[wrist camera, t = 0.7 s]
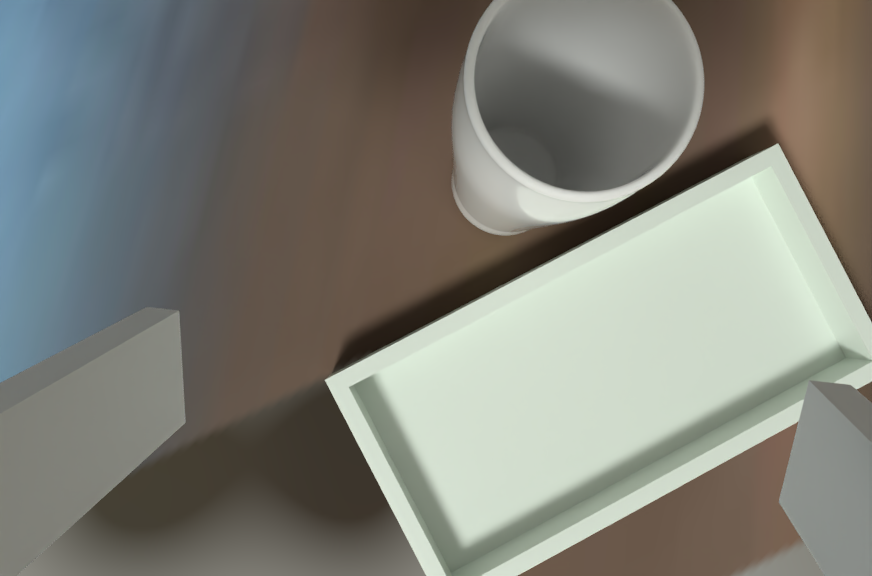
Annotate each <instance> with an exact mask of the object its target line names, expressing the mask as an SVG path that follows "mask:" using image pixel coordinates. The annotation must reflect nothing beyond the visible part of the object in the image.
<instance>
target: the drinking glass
mask: <svg viewBox="0 0 872 576" xmlns="http://www.w3.org/2000/svg"><path fill="white" fill-rule="evenodd" d="M703 97H704V69H703V63H702V57H701V53H700V50H699V46H698V43H697V41H696V38H695V35H694V33H693V31H692V29H691V27H690V25H689V23H688V22H687V20H686V18H685V17H684V15H683V14H682V12H681V11H680V10H679V8H678V7H677V6H676V5H675V3H674V2H673V1H672V0H493V1H492V2H491V4H490V5H489V6H488V8H487V9H486V10H485V12H484V13H483V15H482V16H481V18H480V20H479V21H478V23H477V25H476V27H475V29H474V31H473V34H472V36H471V39H470V42H469V45H468V48H467V51H466V53H465V56H464V59H463V62H462V65H461V68H460V72H459V75H458V79H457V83H456V88H455V93H454V99H453V106H452V119H451V134H452V151H453V171H452V180H451V181H452V191H453V196H454V199H455V202H456V204H457V206H458V208H459V209H460V211H461V212H462V214H463V215H464V216H465V217H466V219H467V220H468V221H470V222H471V223H472V224H473V225H474V226H476V227H478V228H479V229H481V230H483V231H485V232H488V233H491V234H495V235H505V236H506V235H516V234H520V233H523V232H526V231H528V230H531V229H534V228H539V227H545V226H551V225H557V224H563V223H568V222H572V221H576V220H579V219H583V218H586V217H588V216H591V215H594V214H597V213H599V212H601V211H603V210H606V209H608V208H610V207H612V206H614V205H616V204H618V203H620V202H621V201H623V200H625V199H626V198H628V197H630V196H631V195H633V194H635V193H636V192H638V191H639V190H641V189H642V188H644V187H645V186H647V185H649V184H650V183H652V182H653V181H655V180H656V179H657V178H659V177H660V176H661V175H662V174H663V173H664V172H666V171H667V170H668V169H669V168H670V167H671V166H672V165H673V164H674V162H675V161H676V160H677V159H678V158H679V156H680V155H681V154H682V152H683V151H684V150H685V148H686V146H687V145H688V143H689V141H690V139H691V137H692V135H693V133H694V131H695V129H696V126H697V123H698V120H699V117H700V113H701V109H702V104H703Z"/></svg>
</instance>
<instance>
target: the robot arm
mask: <svg viewBox="0 0 872 576" xmlns="http://www.w3.org/2000/svg"><path fill="white" fill-rule="evenodd" d="M184 423H185V407H184V390H183V372H182V355H181V337H180V320H179V311H178V310H168V309H159V308H150V307H146V308H144V309H142V310H140V311H138V312H136V313H134V314H132V315H131V316H129V317H127V318H125V319H123V320H121V321H119V322H117V323H115V324H113V325H111V326H109V327H107V328H105V329H104V330H102V331H100V332H98V333H96V334H94V335H92V336H90V337H88V338H86V339H84V340H82V341H80V342H78V343H77V344H75V345H73V346H71V347H69V348H67V349H65V350H63V351H61V352H59V353H57V354H55V355H53V356H52V357H50V358H48V359H46V360H44V361H42V362H40V363H38V364H36V365H34V366H32V367H30V368H28V369H26V370H25V371H23V372H21V373H19V374H17V375H15V376H13V377H11V378H9V379H7V380H5V381H3V382H1V383H0V576H17V575H18V574H19V573H20V572H21V571H23V570H24V569H25V568H26V567H27V566H28V565H29V564H30V563H31V562H32V561H33V560H34V559H36V558H37V557H38V556H39V555H40V554H41V553H42V552H43V551H44V550H46V549H47V548H48V547H49V546H50V545H51V544H52V543H53V542H54V541H56V539H58V538H59V537H60V536H61V535H62V534H63V533H64V532H65V531H67V530H68V529H69V528H70V527H71V526H72V525H73V524H74V523H75V522H76V521H78V520H79V519H80V518H81V517H82V516H83V515H84V514H85V513H86V512H88V511H89V510H90V509H91V508H92V507H93V506H94V505H95V504H96V503H97V502H98V501H100V500H101V499H102V498H103V497H104V496H105V495H106V494H107V493H108V492H110V491H111V490H112V489H113V488H114V487H115V486H116V485H117V484H118V483H119V482H121V481H122V480H123V479H124V478H125V477H126V476H127V475H128V474H129V473H130V472H132V471H133V470H134V469H135V468H136V467H137V466H138V465H139V464H140V463H141V462H143V461H144V460H145V459H146V458H147V457H148V456H149V455H150V454H151V453H153V452H154V451H155V450H156V449H157V448H158V447H159V446H160V445H161V444H162V443H164V442H165V441H166V440H167V439H168V438H169V437H170V436H171V435H172V434H173V433H175V432H176V431H177V430H178V429H179V428H180V427H181V426H182V425H183V424H184ZM779 503H780V505H781V506H782V508H783V509H784V511H785V513H786V514H787V516H788V518H789V519H790V521H791V522H792V524H793V526H794V527H795V529H796V531H797V532H798V534H799V535H800V537H801V539H802V540H803V542H804V543H805V545H806V547H807V548H808V550H809V551H810V553H811V555H812V556H813V558H814V560H815V561H816V563H817V564H818V566H819V568H820V569H821V571H822V572H823V574H824V576H872V403H871V402H870V401H869V400H867V399H866V398H865V397H864V396H863V395H862V394H861V393H860V392H858V391H857V390H856V389H855V388H854V387H853V386H852V385H848V384H839V383H830V382H821V381H812V380H809V382H808V386H807V390H806V394H805V398H804V402H803V406H802V410H801V414H800V418H799V422H798V426H797V430H796V434H795V438H794V442H793V447H792V451H791V455H790V459H789V463H788V467H787V471H786V475H785V479H784V483H783V487H782V491H781V495H780V499H779Z"/></svg>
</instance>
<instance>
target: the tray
mask: <svg viewBox="0 0 872 576" xmlns="http://www.w3.org/2000/svg"><path fill="white" fill-rule="evenodd" d="M809 380H812V381H821V382H830V383H839V384H848V385H852V386H853V387H854V388H855V389H858V388H860V387H862V386H864V385H866V384H867V383H869V382H871V381H872V322H871V320H870V318H869V317H868V315H867V313H866V311H865V309H864V307H863V305H862V303H861V301H860V299H859V297H858V295H857V293H856V292H855V290H854V288H853V286H852V284H851V282H850V280H849V278H848V276H847V274H846V272H845V270H844V269H843V267H842V265H841V263H840V261H839V259H838V257H837V255H836V253H835V251H834V249H833V247H832V246H831V244H830V242H829V240H828V238H827V236H826V234H825V232H824V230H823V228H822V226H821V224H820V223H819V221H818V219H817V217H816V215H815V213H814V211H813V209H812V207H811V205H810V203H809V201H808V200H807V198H806V196H805V194H804V192H803V190H802V188H801V186H800V184H799V182H798V180H797V178H796V176H795V175H794V173H793V171H792V169H791V167H790V165H789V163H788V161H787V159H786V157H785V155H784V153H783V152H782V150H781V148H780V146H779V144H776V145H773V146H771V147H769V148H766V149H764V150H762V151H760V152H757V153H755V154H753V155H750V156H748V157H746V158H745V159H743V160H741V161H739V162H737V163H735V164H733V165H731V166H729V167H727V168H725V169H723V170H722V171H720V172H718V173H716V174H714V175H712V176H710V177H708V178H706V179H704V180H702V181H700V182H699V183H697V184H695V185H693V186H691V187H689V188H687V189H685V190H683V191H681V192H679V193H677V194H676V195H674V196H672V197H670V198H668V199H666V200H664V201H662V202H660V203H658V204H656V205H654V206H653V207H651V208H649V209H647V210H645V211H643V212H641V213H639V214H637V215H635V216H633V217H631V218H630V219H628V220H626V221H624V222H622V223H620V224H618V225H616V226H614V227H612V228H610V229H608V230H606V231H605V232H603V233H601V234H599V235H597V236H595V237H593V238H591V239H589V240H587V241H585V242H583V243H582V244H580V245H578V246H576V247H574V248H572V249H570V250H568V251H566V252H564V253H562V254H560V255H559V256H557V257H555V258H553V259H551V260H549V261H547V262H545V263H543V264H541V265H539V266H537V267H536V268H534V269H532V270H530V271H528V272H526V273H524V274H522V275H520V276H518V277H516V278H514V279H513V280H511V281H509V282H507V283H505V284H503V285H501V286H499V287H497V288H495V289H493V290H491V291H490V292H488V293H486V294H484V295H482V296H480V297H478V298H476V299H474V300H472V301H470V302H468V303H467V304H465V305H463V306H461V307H459V308H457V309H455V310H453V311H451V312H449V313H447V314H445V315H444V316H442V317H440V318H438V319H436V320H434V321H432V322H430V323H428V324H426V325H424V326H422V327H421V328H419V329H417V330H415V331H413V332H411V333H409V334H407V335H405V336H403V337H401V338H399V339H398V340H396V341H394V342H392V343H390V344H388V345H386V346H384V347H382V348H380V349H378V350H376V351H375V352H373V353H371V354H369V355H367V356H365V357H363V358H361V359H359V360H357V361H355V362H353V363H352V364H350V365H348V366H346V367H344V368H342V369H340V370H338V371H336V372H334V373H332V374H331V375H330V376H329V377H328V378H326V379H325V381H326V383H327V385H328V387H329V389H330V391H331V393H332V395H333V397H334V398H335V400H336V402H337V404H338V406H339V408H340V410H341V412H342V414H343V416H344V418H345V420H346V422H347V424H348V425H349V427H350V429H351V431H352V433H353V435H354V437H355V439H356V441H357V443H358V445H359V447H360V449H361V450H362V452H363V454H364V456H365V458H366V460H367V462H368V464H369V466H370V468H371V470H372V472H373V474H374V475H375V478H376V480H377V481H378V483H379V485H380V487H381V489H382V491H383V493H384V495H385V497H386V499H387V501H388V503H389V505H390V506H391V508H392V510H393V512H394V514H395V516H396V518H397V520H398V522H399V524H400V526H401V528H402V530H403V532H404V534H405V535H406V537H407V539H408V541H409V543H410V545H411V547H412V549H413V551H414V553H415V555H416V556H417V558H418V561H419V563H420V564H421V566H422V568H423V570H424V572H425V574H426V576H517V575H519V574H521V573H523V572H525V571H527V570H528V569H530V568H532V567H534V566H536V565H538V564H539V563H541V562H543V561H545V560H547V559H548V558H550V557H552V556H554V555H556V554H558V553H559V552H561V551H563V550H565V549H567V548H569V547H570V546H572V545H574V544H576V543H578V542H579V541H581V540H583V539H585V538H587V537H589V536H590V535H592V534H594V533H596V532H598V531H599V530H601V529H603V528H605V527H607V526H609V525H610V524H612V523H614V522H616V521H618V520H620V519H621V518H623V517H625V516H627V515H629V514H630V513H632V512H634V511H636V510H638V509H640V508H641V507H643V506H645V505H647V504H649V503H651V502H652V501H654V500H656V499H658V498H660V497H661V496H663V495H665V494H667V493H669V492H671V491H672V490H674V489H676V488H678V487H680V486H682V485H683V484H685V483H687V482H689V481H691V480H692V479H694V478H696V477H698V476H700V475H702V474H703V473H705V472H707V471H709V470H711V469H712V468H714V467H716V466H718V465H720V464H722V463H723V462H725V461H727V460H729V459H731V458H733V457H734V456H736V455H738V454H740V453H742V452H743V451H745V450H747V449H749V448H751V447H753V446H754V445H756V444H758V443H760V442H762V441H764V440H765V439H767V438H769V437H771V436H773V435H774V434H776V433H778V432H780V431H782V430H784V429H785V428H787V427H789V426H791V425H793V424H795V423H796V422H798V421H799V418H800V414H801V410H802V406H803V402H804V398H805V394H806V390H807V386H808V382H809Z"/></svg>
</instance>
